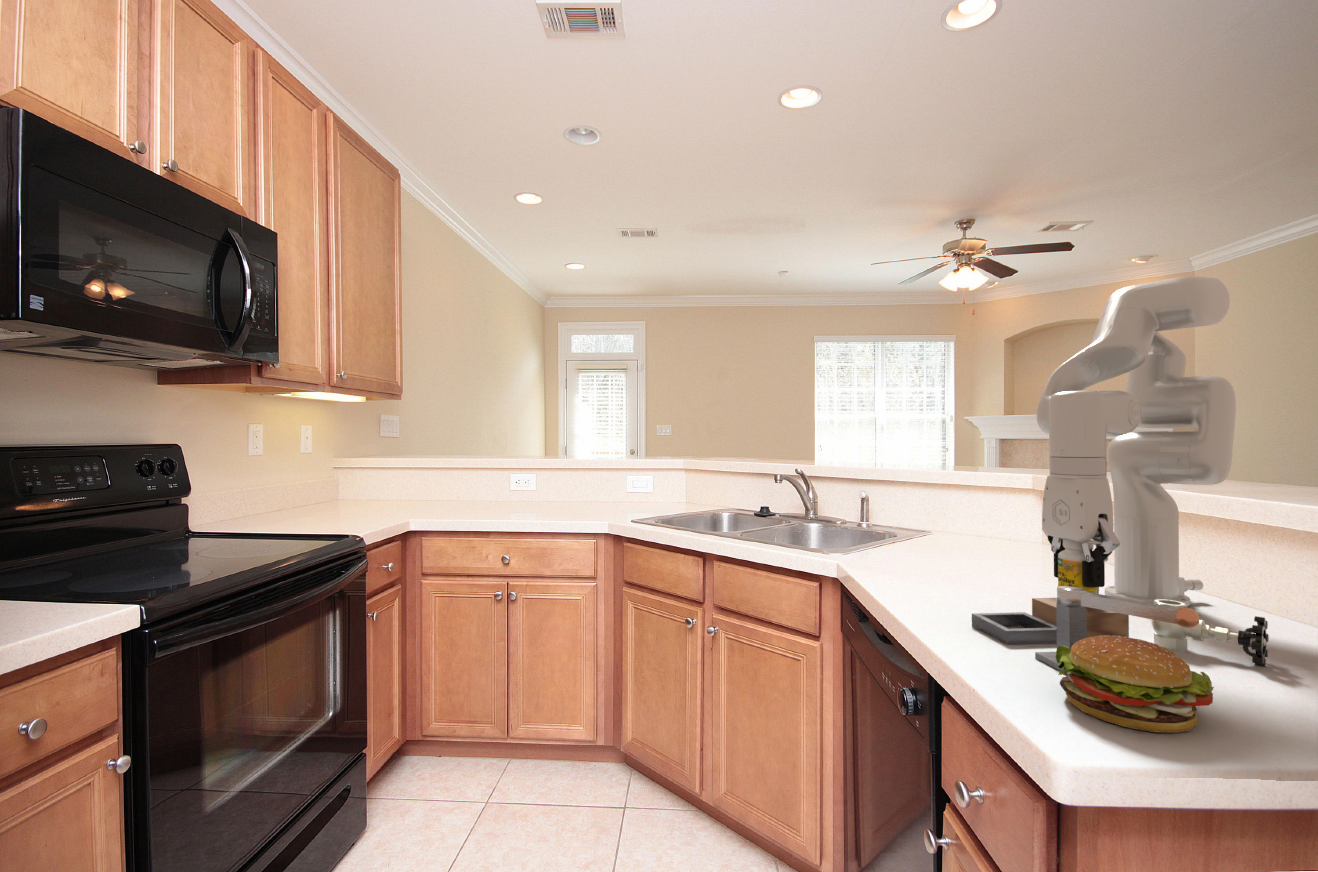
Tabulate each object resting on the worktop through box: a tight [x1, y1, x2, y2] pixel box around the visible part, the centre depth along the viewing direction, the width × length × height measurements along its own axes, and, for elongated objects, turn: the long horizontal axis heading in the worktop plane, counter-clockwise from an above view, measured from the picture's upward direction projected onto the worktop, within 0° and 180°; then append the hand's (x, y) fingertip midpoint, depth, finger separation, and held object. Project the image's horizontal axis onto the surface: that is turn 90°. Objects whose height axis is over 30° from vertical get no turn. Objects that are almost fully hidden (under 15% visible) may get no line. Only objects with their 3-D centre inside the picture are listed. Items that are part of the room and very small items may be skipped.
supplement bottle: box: [1057, 539, 1100, 594], centre depth 96 cm, size 5×5×10 cm
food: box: [1055, 635, 1215, 733], centre depth 68 cm, size 14×14×8 cm
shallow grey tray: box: [971, 611, 1057, 646], centre depth 95 cm, size 9×9×2 cm
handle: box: [1056, 586, 1201, 628], centre depth 77 cm, size 15×3×2 cm, turn 36°
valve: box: [1151, 599, 1270, 668], centre depth 86 cm, size 7×7×12 cm
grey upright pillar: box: [1034, 602, 1087, 676], centre depth 82 cm, size 6×6×8 cm
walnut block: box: [1031, 597, 1130, 638], centre depth 96 cm, size 9×9×4 cm
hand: (1078, 580), depth 96 cm, fingers closed on supplement bottle, 5 cm apart
